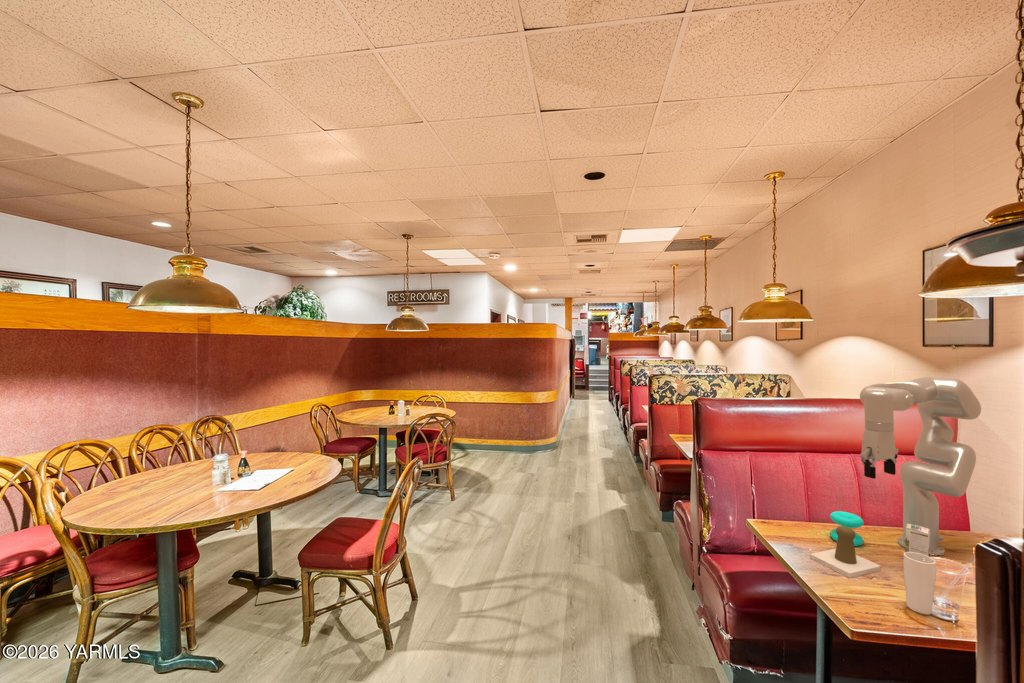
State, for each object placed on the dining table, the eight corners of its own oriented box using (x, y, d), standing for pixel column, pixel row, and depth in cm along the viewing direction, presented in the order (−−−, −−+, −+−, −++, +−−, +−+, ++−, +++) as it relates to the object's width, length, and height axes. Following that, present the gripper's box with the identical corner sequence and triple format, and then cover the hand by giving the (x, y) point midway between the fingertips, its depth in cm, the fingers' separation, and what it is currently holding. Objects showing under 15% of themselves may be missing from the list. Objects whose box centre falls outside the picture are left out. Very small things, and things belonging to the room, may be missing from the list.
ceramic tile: (840, 551, 153) (840, 547, 153) (880, 570, 140) (880, 565, 140) (810, 558, 148) (810, 553, 148) (849, 578, 136) (849, 573, 136)
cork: (861, 565, 141) (861, 532, 141) (840, 563, 142) (840, 530, 142) (850, 556, 147) (850, 524, 147) (830, 554, 148) (830, 523, 148)
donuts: (854, 511, 165) (869, 522, 155) (854, 536, 165) (869, 549, 155) (825, 508, 167) (838, 519, 157) (825, 534, 167) (838, 545, 157)
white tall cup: (896, 602, 123) (896, 551, 123) (917, 601, 123) (917, 551, 123) (920, 618, 116) (921, 564, 116) (943, 616, 117) (943, 563, 117)
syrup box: (905, 564, 144) (905, 522, 144) (929, 571, 140) (929, 528, 140) (904, 570, 140) (904, 527, 140) (929, 578, 136) (929, 533, 136)
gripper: (883, 421, 151) (884, 469, 151) (849, 426, 145) (850, 475, 146) (908, 426, 143) (909, 475, 144) (873, 431, 138) (874, 482, 139)
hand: (880, 475), depth 145 cm, fingers open, 9 cm apart
